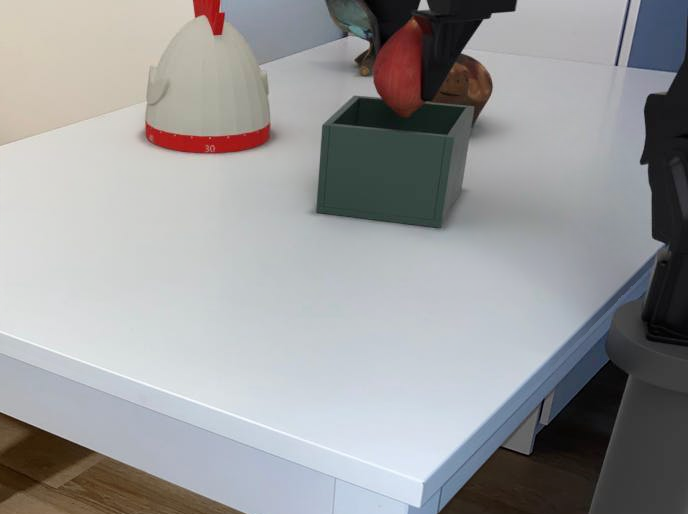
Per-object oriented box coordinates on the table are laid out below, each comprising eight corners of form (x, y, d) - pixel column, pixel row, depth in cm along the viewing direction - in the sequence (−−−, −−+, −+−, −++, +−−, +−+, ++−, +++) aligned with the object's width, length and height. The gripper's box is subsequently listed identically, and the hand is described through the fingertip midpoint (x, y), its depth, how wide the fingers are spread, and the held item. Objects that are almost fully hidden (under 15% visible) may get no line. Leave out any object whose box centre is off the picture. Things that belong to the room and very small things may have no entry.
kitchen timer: (245, 115, 118) (249, -31, 109) (288, 146, 108) (297, -12, 98) (131, 124, 114) (126, -26, 105) (165, 157, 104) (162, -6, 95)
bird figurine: (460, 60, 139) (400, -87, 130) (453, 77, 132) (389, -78, 123) (373, 107, 146) (311, -30, 137) (362, 125, 138) (296, -18, 130)
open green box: (461, 190, 96) (474, 106, 91) (440, 228, 88) (454, 137, 83) (346, 177, 99) (353, 95, 95) (315, 212, 91) (322, 124, 86)
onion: (362, 121, 86) (371, 17, 81) (378, 106, 90) (388, 7, 85) (428, 128, 84) (442, 22, 79) (442, 112, 88) (456, 11, 84)
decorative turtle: (405, 144, 108) (411, 63, 104) (398, 119, 121) (402, 45, 116) (496, 143, 107) (506, 60, 103) (480, 117, 120) (487, 43, 115)
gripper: (282, -130, 81) (274, 79, 90) (411, -116, 67) (385, 128, 77) (398, -133, 84) (379, 68, 94) (543, -120, 71) (503, 113, 80)
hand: (406, 92), depth 86 cm, fingers closed on onion, 6 cm apart
